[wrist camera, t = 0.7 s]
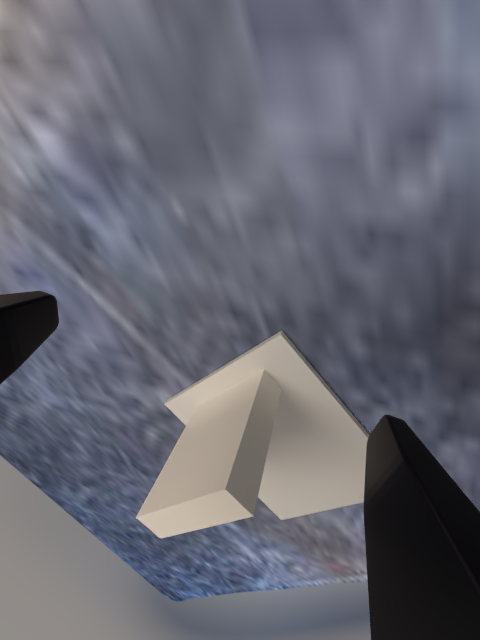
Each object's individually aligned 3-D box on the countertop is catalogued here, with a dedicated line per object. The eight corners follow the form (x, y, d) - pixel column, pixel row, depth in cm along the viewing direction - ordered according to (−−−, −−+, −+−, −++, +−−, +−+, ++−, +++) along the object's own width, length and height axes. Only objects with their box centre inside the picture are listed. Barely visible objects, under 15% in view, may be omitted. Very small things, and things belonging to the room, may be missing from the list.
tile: (283, 391, 24) (257, 519, 15) (215, 424, 28) (163, 541, 19) (264, 369, 23) (225, 489, 15) (197, 405, 27) (135, 517, 19)
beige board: (411, 484, 25) (412, 491, 25) (282, 514, 32) (281, 520, 32) (281, 330, 22) (280, 334, 21) (167, 399, 29) (164, 404, 28)
